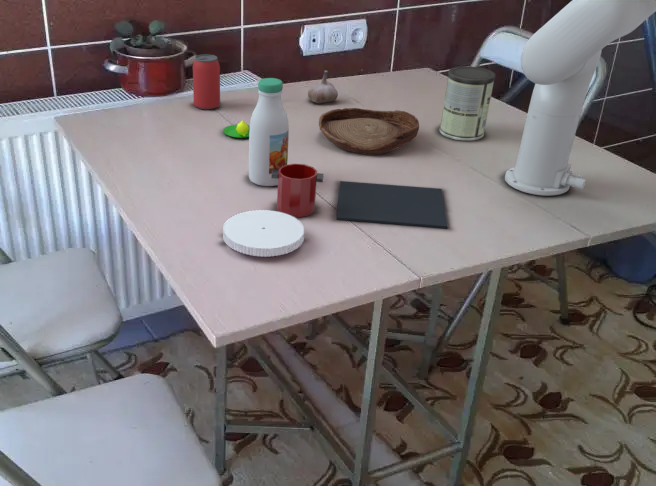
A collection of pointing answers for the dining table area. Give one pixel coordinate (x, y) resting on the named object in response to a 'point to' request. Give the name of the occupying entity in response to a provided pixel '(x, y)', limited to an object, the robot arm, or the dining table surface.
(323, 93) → the garlic bulb
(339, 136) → the basket
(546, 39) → the robot arm
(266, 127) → the milk bottle
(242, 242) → the plastic lid
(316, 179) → the pot
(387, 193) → the mat
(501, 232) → the dining table surface
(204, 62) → the beer can
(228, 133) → the lemon on green saucer
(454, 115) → the coffee can
